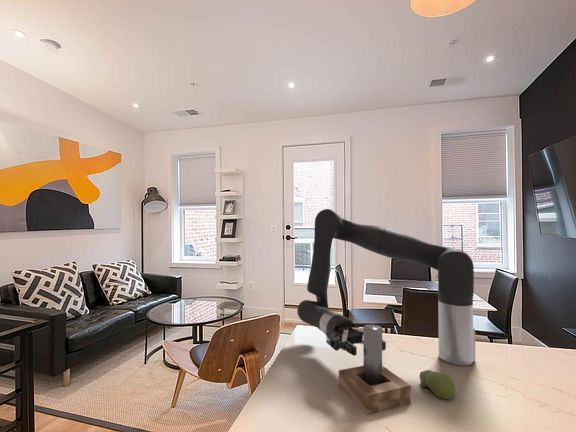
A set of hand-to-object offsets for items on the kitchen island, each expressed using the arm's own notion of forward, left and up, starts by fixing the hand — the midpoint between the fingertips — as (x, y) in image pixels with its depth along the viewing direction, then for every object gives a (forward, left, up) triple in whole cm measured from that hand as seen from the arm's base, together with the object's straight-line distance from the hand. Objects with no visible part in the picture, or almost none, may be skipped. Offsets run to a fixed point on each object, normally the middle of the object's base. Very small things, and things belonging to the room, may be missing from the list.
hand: (370, 348), depth 75 cm
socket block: (0, +1, -10) cm, 11 cm away
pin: (0, +1, -10) cm, 11 cm away
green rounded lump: (-15, +5, -11) cm, 20 cm away
